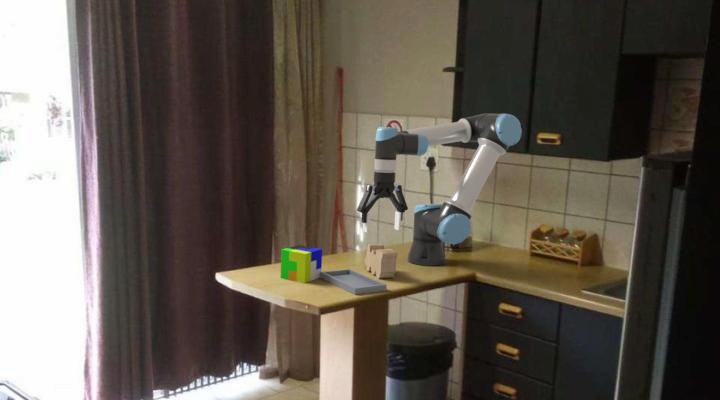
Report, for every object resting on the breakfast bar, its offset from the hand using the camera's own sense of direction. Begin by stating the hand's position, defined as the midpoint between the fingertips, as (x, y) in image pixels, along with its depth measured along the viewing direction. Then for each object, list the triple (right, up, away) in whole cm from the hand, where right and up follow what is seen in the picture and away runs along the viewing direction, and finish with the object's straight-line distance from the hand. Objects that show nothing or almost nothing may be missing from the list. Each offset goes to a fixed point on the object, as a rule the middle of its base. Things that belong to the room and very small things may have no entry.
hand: (381, 231), depth 226 cm
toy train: (-1, -16, +2) cm, 16 cm away
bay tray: (-10, -17, -12) cm, 23 cm away
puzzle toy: (-28, -16, -7) cm, 33 cm away
